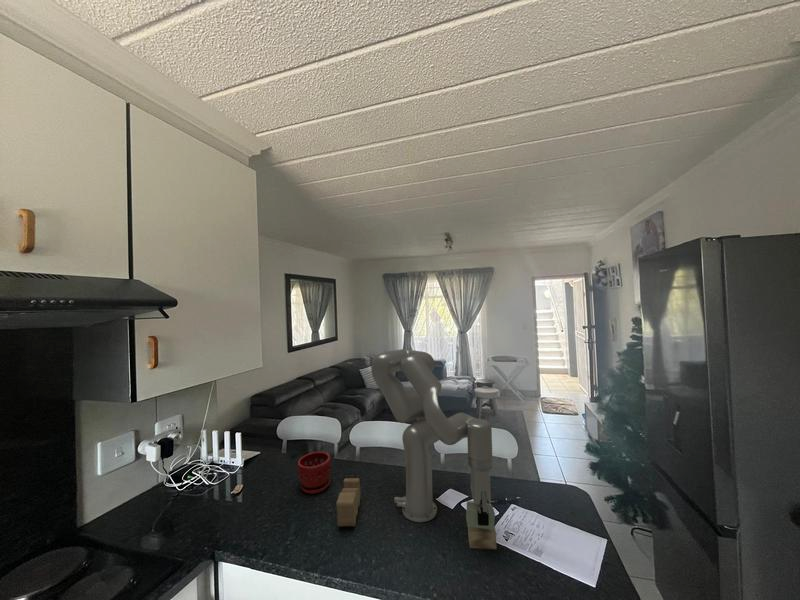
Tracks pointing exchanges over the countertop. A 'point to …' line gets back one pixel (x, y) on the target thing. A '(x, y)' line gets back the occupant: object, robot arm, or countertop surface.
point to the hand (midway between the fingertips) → (482, 518)
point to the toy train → (348, 502)
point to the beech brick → (482, 538)
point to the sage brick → (473, 516)
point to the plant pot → (314, 472)
